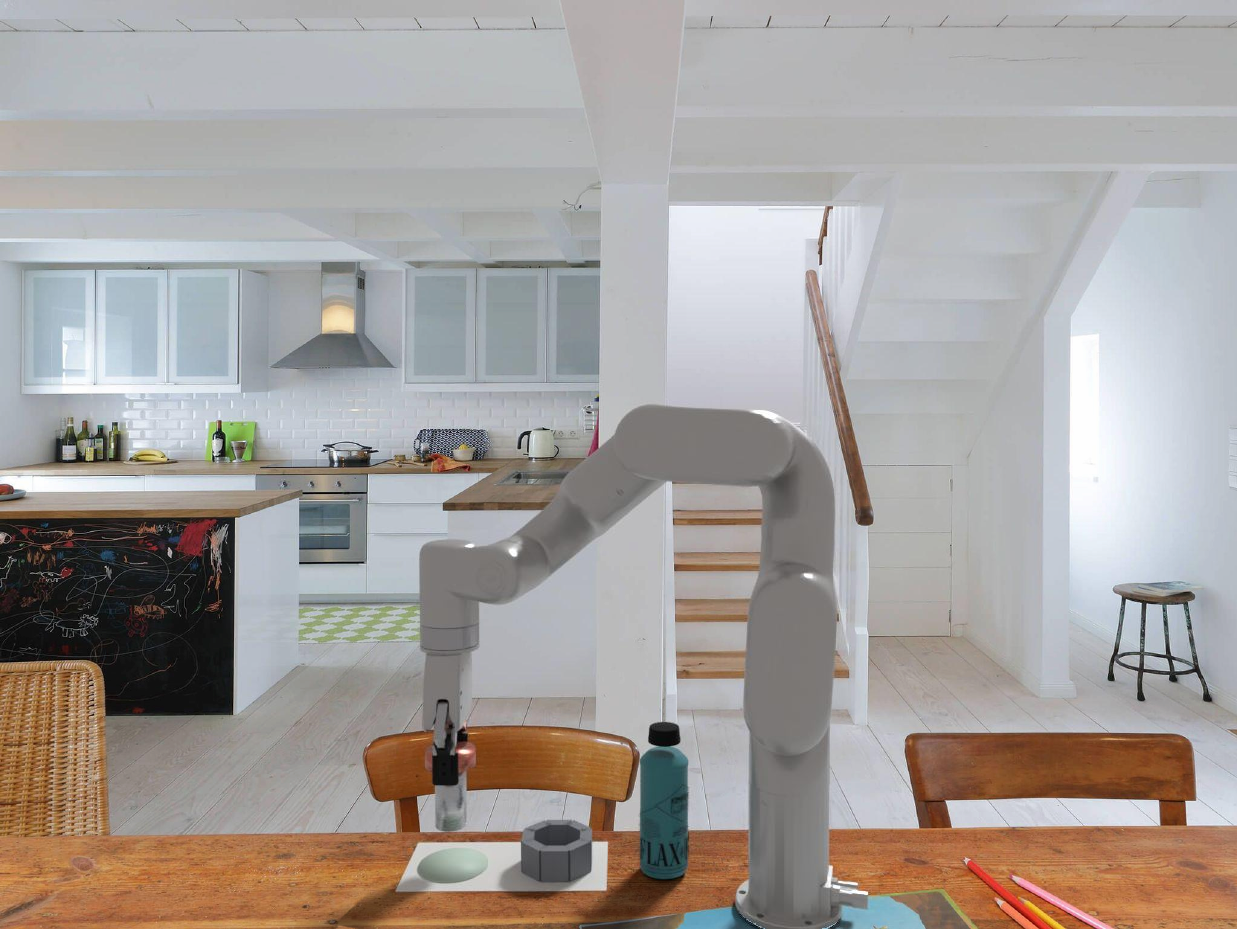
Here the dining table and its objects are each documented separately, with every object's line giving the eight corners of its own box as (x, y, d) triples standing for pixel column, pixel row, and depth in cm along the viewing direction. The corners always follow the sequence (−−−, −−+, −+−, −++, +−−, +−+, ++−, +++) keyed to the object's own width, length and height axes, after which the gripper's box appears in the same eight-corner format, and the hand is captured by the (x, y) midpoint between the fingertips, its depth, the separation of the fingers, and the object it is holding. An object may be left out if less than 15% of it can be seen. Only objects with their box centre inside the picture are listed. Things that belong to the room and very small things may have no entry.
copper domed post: (440, 811, 123) (439, 738, 123) (484, 817, 121) (483, 743, 121) (416, 832, 117) (416, 755, 117) (462, 838, 115) (462, 760, 115)
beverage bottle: (629, 884, 116) (629, 729, 115) (652, 861, 122) (651, 713, 121) (676, 896, 113) (676, 737, 112) (697, 872, 119) (697, 721, 118)
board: (608, 848, 126) (607, 813, 126) (606, 898, 113) (606, 858, 113) (418, 849, 126) (417, 814, 126) (395, 899, 113) (394, 859, 113)
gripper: (434, 621, 127) (435, 749, 128) (404, 653, 109) (406, 801, 110) (488, 621, 127) (489, 749, 128) (467, 654, 109) (468, 801, 110)
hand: (450, 772), depth 119 cm, fingers closed on copper domed post, 6 cm apart
